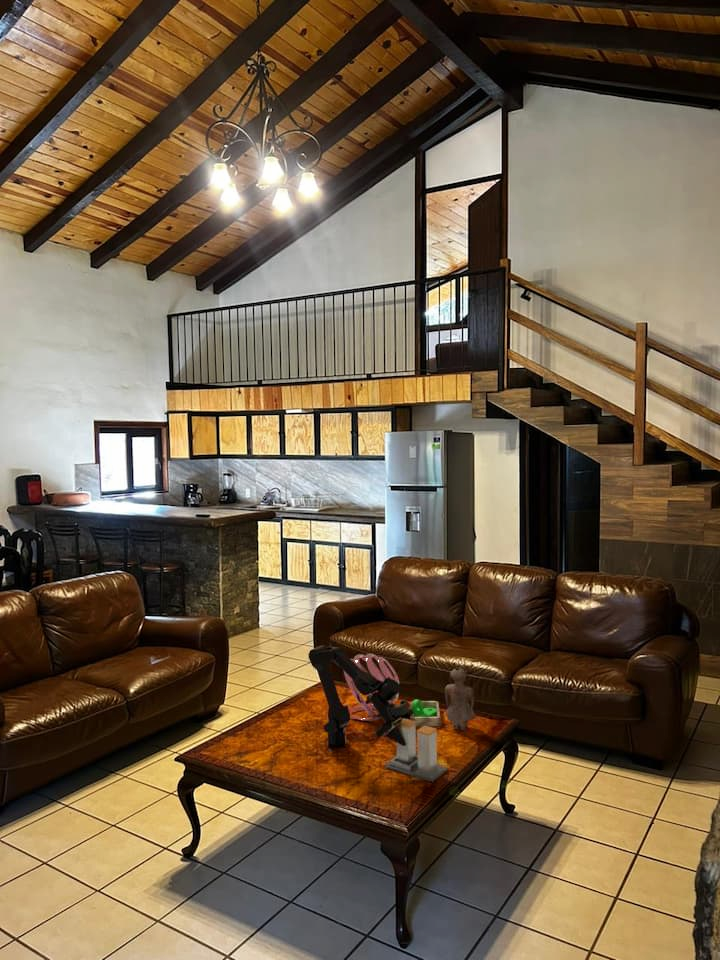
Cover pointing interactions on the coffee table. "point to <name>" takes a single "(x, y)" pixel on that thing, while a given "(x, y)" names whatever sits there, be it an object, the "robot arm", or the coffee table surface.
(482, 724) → the coffee table surface
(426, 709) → the mechanical part
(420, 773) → the housing
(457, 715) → the clay figurine
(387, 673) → the spiral basket
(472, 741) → the coffee table surface
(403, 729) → the post
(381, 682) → the robot arm
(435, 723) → the parts corral
